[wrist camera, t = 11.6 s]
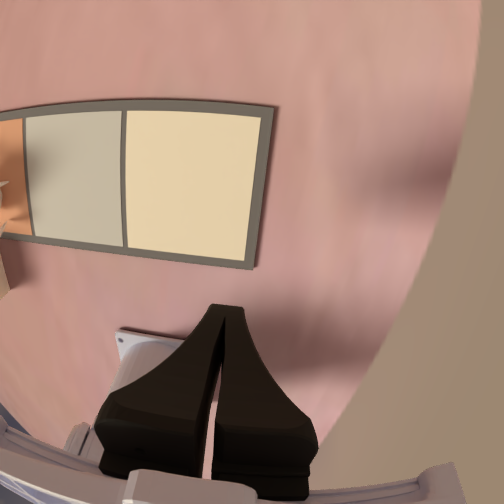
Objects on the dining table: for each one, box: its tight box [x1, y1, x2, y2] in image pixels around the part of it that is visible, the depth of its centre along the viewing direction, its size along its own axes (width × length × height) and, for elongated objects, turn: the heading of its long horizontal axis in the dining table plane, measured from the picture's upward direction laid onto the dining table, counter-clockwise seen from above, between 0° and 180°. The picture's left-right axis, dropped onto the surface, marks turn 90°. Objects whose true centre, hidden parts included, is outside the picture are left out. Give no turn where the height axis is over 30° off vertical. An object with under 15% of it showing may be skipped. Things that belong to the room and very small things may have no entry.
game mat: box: [0, 100, 274, 270], centre depth 20 cm, size 11×27×1 cm, turn 84°
